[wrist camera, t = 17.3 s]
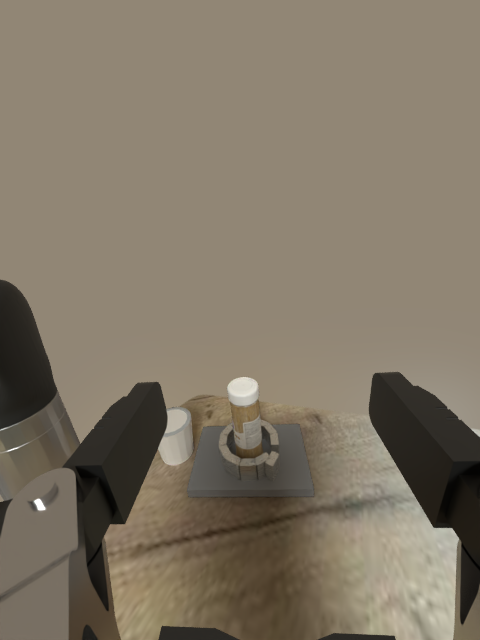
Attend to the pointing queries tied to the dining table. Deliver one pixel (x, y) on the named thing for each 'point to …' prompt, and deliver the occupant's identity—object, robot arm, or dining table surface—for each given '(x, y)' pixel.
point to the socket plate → (288, 482)
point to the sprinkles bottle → (246, 417)
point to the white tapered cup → (177, 437)
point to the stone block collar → (251, 466)
